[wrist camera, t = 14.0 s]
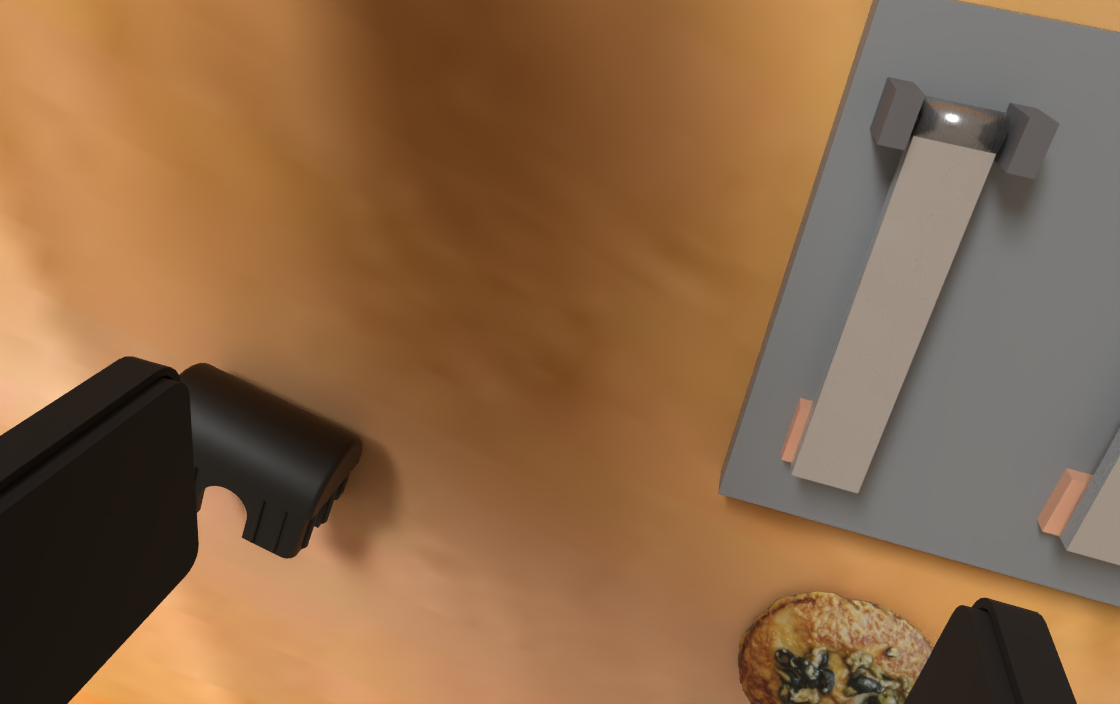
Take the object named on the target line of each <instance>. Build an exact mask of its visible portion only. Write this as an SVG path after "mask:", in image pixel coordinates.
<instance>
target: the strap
mask: <svg viewBox="0 0 1120 704" xmlns="http://www.w3.org/2000/svg"><path fill="white" fill-rule="evenodd" d="M1009 124H1010V114H1009V113H1005V112H1001V111H996V110H991V109H986V108H982V107H977V106H972V105H967V104H963V103H958V102H953V101H949V100H944V99H939V98H934V97H930V96H925V97H924V100H923V102H922V105H921V108H920V111H919V113H918V116H917V119H916V121H915V124H914V127H913V130H912V132H911V135H910V138H909V140H908V143H907V146H906V148H905V151H904V150H903V152H902V154H901V157H900V160H899V163H898V166H897V168H896V171H895V174H894V177H893V180H892V182H891V185H890V188H889V191H888V194H887V196H886V199H885V202H884V205H883V208H882V210H881V213H880V216H879V219H878V222H877V224H876V227H875V230H874V233H873V236H872V238H871V241H870V244H869V247H868V250H867V252H866V255H865V258H864V261H863V263H862V266H861V269H860V272H859V275H858V277H857V280H856V283H855V286H854V289H853V291H852V294H851V297H850V300H849V303H848V305H847V308H846V311H845V314H844V317H843V319H842V322H841V325H840V328H839V331H838V333H837V336H836V339H835V342H834V345H833V347H832V350H831V353H830V356H829V359H828V361H827V364H826V367H825V370H824V373H823V375H822V378H821V381H820V384H819V387H818V389H817V392H816V395H815V398H814V400H813V403H812V406H811V409H810V412H809V414H808V417H807V420H806V423H805V426H804V428H803V431H802V434H801V437H800V440H799V442H798V445H797V448H796V451H795V454H794V456H793V459H792V462H791V475H793V476H797V477H800V478H804V479H807V480H811V481H815V482H818V483H822V484H825V485H829V486H833V487H836V488H840V489H844V490H847V491H851V492H854V493H858V492H859V490H860V487H861V485H862V482H863V480H864V478H865V475H866V473H867V470H868V468H869V465H870V463H871V460H872V458H873V455H874V453H875V451H876V448H877V446H878V443H879V441H880V438H881V436H882V433H883V431H884V428H885V426H886V424H887V421H888V419H889V416H890V414H891V411H892V409H893V406H894V404H895V401H896V399H897V396H898V394H899V392H900V389H901V387H902V384H903V382H904V379H905V377H906V374H907V372H908V369H909V367H910V365H911V362H912V360H913V357H914V355H915V352H916V350H917V347H918V345H919V342H920V340H921V338H922V335H923V333H924V330H925V328H926V325H927V323H928V320H929V318H930V315H931V313H932V310H933V308H934V306H935V303H936V301H937V298H938V296H939V293H940V291H941V288H942V286H943V283H944V281H945V279H946V276H947V274H948V271H949V269H950V266H951V264H952V261H953V259H954V256H955V254H956V252H957V249H958V247H959V244H960V242H961V239H962V237H963V234H964V232H965V229H966V227H967V224H968V222H969V220H970V217H971V215H972V212H973V210H974V207H975V205H976V202H977V200H978V197H979V195H980V193H981V190H982V188H983V185H984V183H985V180H986V178H987V175H988V173H989V170H990V168H991V166H992V163H993V161H994V158H995V156H996V154H997V152H998V151H999V150H1000V148H1001V146H1002V144H1003V142H1004V140H1005V137H1006V135H1007V132H1008V128H1009Z"/></svg>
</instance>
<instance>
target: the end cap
mask: <svg viewBox="0 0 1120 704" xmlns="http://www.w3.org/2000/svg"><path fill="white" fill-rule="evenodd" d="M179 376H180V381H181V383H183V384H185V385H186V386H187V387H188V389H189V394H190V407H191V424H192V441H193V458H194V475H195V492H196V509H197V512H198V511H199V510H200V508H201V504H202V499H203V495H204V491H205V488H206V487H209V486H220V487H224V488H226V489H228V490H230V491H232V492H233V493H234V494H236V495H237V496H238V497H239V498H240V499H241V501H242V502H243V504H244V506H245V508H246V511H247V520H246V524H245V528H244V531H243V535H242V538H244V539H246V540H248V541H249V542H251V543H254V544H256V545H258V546H260V547H262V548H264V549H266V550H268V551H270V552H272V553H274V554H276V555H278V556H280V557H283V558H293V557H295V556H296V555H297V554H298V553H299V551H300V550H301V549H303V548H306V547H307V546H308V543H309V540H310V537H311V534H312V530H313V527H314V526H315V527H317V528H318V527H319V526H320V525H321V524H323V523H325V522H327V519H328V516H329V513H330V510H331V507H332V504H333V501H334V500H337V499H338V498H339V497H340V495H341V494H342V493H343V491H344V489H345V486H346V483H347V480H348V477H349V474H350V472H351V471H352V469H353V468H354V467H355V466H356V464H357V463H358V462H359V459H360V456H361V452H362V441H361V439H360V438H359V437H357V436H355V435H353V434H351V433H348V432H346V431H344V430H342V429H340V428H338V427H336V426H334V425H332V424H330V423H328V422H326V421H324V420H322V419H320V418H318V417H316V416H314V415H312V414H310V413H308V412H306V411H304V410H302V409H300V408H297V407H295V406H293V405H291V404H289V403H287V402H285V401H283V400H281V399H279V398H277V397H275V396H273V395H271V394H269V393H267V392H265V391H263V390H261V389H259V388H257V387H255V386H253V385H251V384H249V383H246V382H244V381H242V380H240V379H238V378H236V377H234V376H232V375H230V374H228V373H226V372H224V371H222V370H220V369H218V368H216V367H214V366H212V365H210V364H207V363H198V364H196V365H193V366H191V367H189V368H188V369H186V370H185V371H183V372H182V373H181V374H180V375H179Z"/></svg>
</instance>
